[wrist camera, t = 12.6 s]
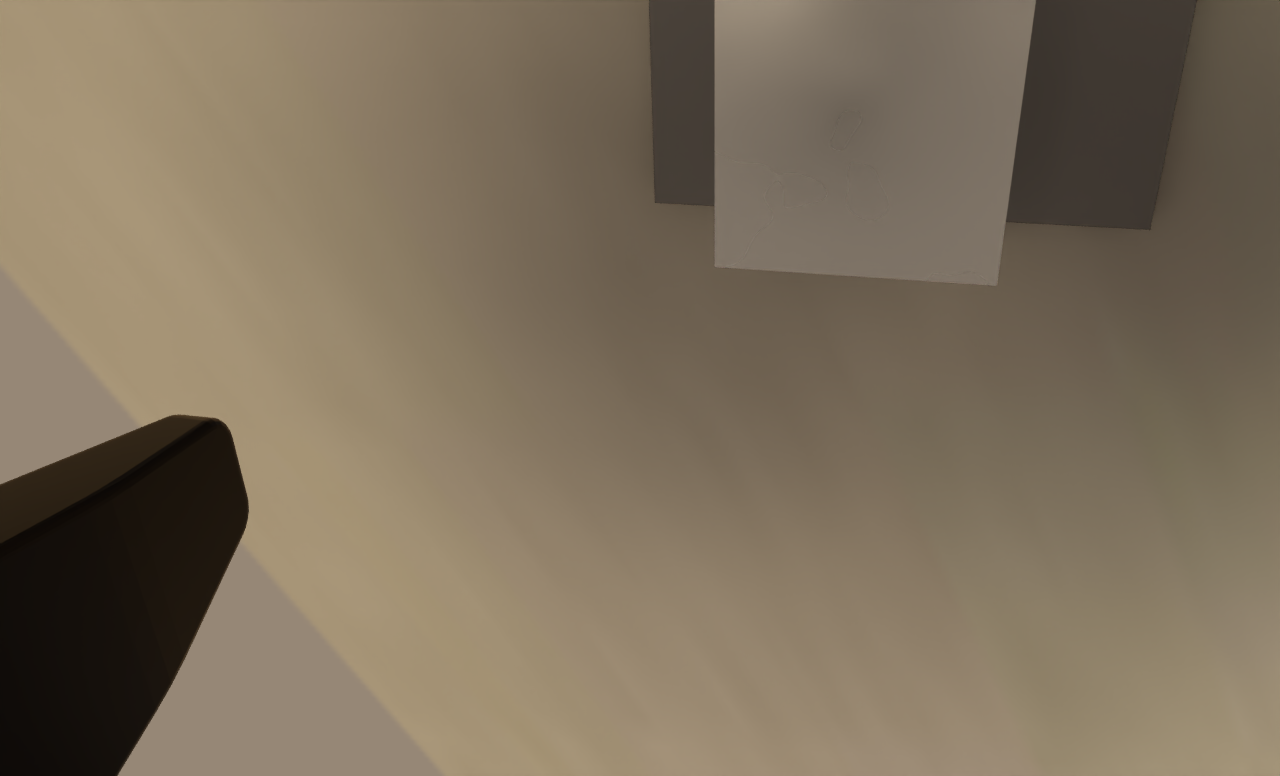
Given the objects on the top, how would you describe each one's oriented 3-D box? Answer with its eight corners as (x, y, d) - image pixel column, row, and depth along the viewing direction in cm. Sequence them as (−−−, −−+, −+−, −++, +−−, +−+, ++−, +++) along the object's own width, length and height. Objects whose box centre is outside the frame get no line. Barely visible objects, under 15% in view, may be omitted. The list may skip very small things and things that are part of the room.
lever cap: (1026, -72, 17) (1039, -25, 14) (991, 204, 19) (997, 285, 17) (748, -74, 18) (713, -30, 15) (744, 191, 20) (714, 267, 17)
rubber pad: (1229, -195, 16) (1235, -192, 16) (1147, 219, 19) (1150, 229, 19) (649, -187, 18) (643, -183, 17) (659, 194, 21) (655, 202, 20)
